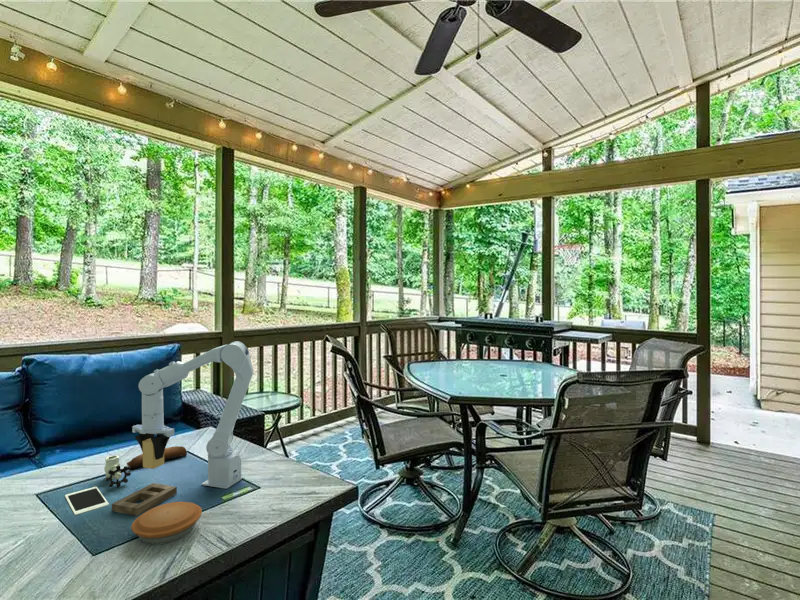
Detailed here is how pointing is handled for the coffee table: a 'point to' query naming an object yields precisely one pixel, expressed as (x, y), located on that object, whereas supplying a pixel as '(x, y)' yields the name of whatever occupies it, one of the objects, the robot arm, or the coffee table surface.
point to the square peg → (150, 455)
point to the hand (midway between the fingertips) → (153, 457)
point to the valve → (115, 471)
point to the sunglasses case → (168, 454)
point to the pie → (166, 522)
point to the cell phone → (86, 500)
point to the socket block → (150, 494)
